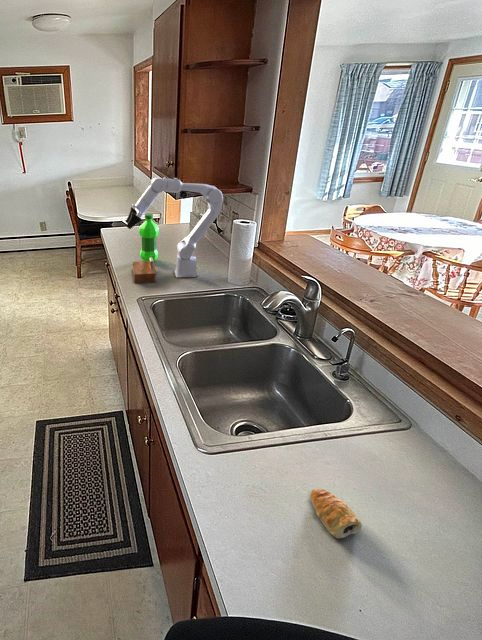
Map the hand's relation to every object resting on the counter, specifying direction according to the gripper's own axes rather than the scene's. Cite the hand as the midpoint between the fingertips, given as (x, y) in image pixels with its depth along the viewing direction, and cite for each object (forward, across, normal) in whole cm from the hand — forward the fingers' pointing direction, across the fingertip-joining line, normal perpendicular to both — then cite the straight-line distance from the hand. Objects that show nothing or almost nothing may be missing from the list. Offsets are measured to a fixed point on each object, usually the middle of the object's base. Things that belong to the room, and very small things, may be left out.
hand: (127, 225), depth 180 cm
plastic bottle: (+14, -20, +25) cm, 35 cm away
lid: (+13, 0, +19) cm, 23 cm away
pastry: (-1, +123, +44) cm, 131 cm away
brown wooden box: (+16, 0, +21) cm, 27 cm away
